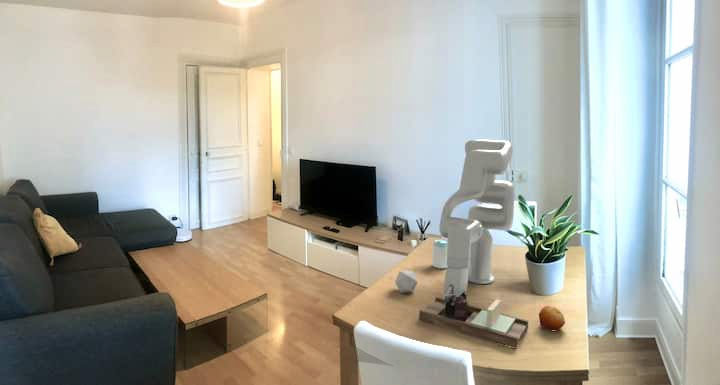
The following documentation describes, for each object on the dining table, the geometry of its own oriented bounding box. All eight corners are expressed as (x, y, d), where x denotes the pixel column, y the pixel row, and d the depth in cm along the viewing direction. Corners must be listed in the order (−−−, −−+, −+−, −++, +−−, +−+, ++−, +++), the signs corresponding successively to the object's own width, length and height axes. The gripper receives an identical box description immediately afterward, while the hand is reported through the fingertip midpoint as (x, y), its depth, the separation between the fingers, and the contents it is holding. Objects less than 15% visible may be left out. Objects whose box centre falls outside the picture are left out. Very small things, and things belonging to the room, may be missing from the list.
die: (410, 299, 168) (423, 277, 169) (391, 286, 168) (404, 265, 170) (408, 297, 176) (420, 276, 177) (389, 286, 176) (401, 265, 178)
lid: (482, 312, 150) (483, 294, 149) (515, 320, 144) (516, 302, 143) (470, 325, 141) (471, 306, 140) (505, 335, 135) (506, 315, 134)
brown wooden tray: (436, 305, 161) (436, 296, 161) (527, 330, 144) (528, 320, 143) (418, 320, 150) (419, 310, 149) (515, 349, 132) (516, 338, 132)
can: (443, 270, 196) (444, 244, 193) (429, 266, 200) (430, 241, 198) (451, 266, 201) (452, 240, 199) (437, 262, 205) (438, 237, 203)
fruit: (535, 314, 152) (550, 298, 148) (555, 331, 149) (571, 315, 145) (529, 323, 145) (544, 307, 142) (550, 341, 142) (566, 325, 139)
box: (461, 314, 153) (463, 294, 152) (466, 323, 147) (468, 302, 146) (444, 315, 153) (445, 295, 151) (448, 323, 147) (449, 302, 146)
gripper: (457, 252, 155) (454, 297, 159) (436, 266, 141) (434, 316, 144) (478, 256, 151) (475, 303, 154) (459, 271, 137) (456, 322, 140)
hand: (455, 309), depth 149 cm, fingers open, 9 cm apart
